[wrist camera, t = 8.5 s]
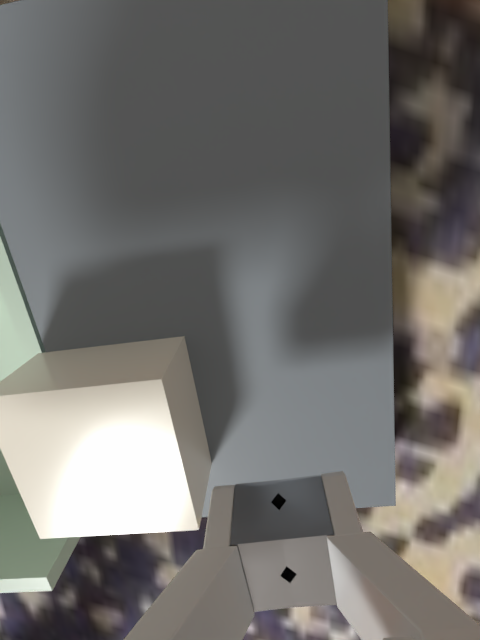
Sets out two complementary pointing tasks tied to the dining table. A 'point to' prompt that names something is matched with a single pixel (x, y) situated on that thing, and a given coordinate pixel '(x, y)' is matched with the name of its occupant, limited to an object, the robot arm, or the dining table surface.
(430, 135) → the dining table surface
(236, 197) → the slate plate
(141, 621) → the robot arm
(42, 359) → the tile
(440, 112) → the dining table surface
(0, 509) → the bin
